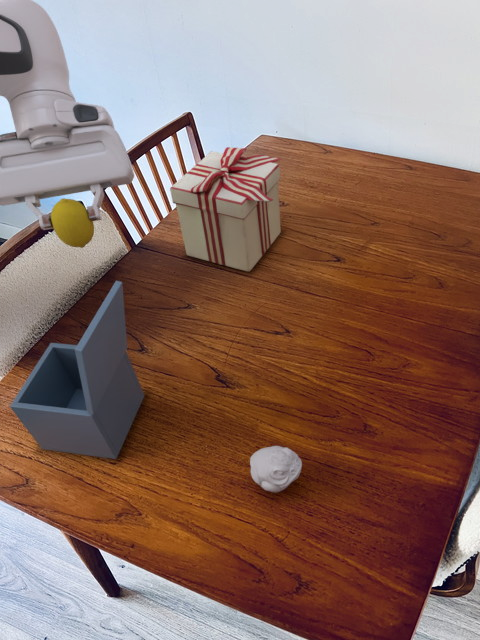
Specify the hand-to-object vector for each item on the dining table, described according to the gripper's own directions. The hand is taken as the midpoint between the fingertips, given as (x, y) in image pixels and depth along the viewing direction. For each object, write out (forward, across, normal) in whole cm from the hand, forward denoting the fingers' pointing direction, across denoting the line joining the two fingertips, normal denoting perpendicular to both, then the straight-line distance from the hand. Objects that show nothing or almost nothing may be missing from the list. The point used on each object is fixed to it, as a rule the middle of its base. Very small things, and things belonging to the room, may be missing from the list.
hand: (72, 224), depth 75 cm
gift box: (+3, +26, +28) cm, 38 cm away
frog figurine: (+41, +20, -11) cm, 47 cm away
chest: (+29, -4, +1) cm, 29 cm away
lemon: (+3, 0, +4) cm, 5 cm away
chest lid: (+19, +3, -13) cm, 23 cm away
